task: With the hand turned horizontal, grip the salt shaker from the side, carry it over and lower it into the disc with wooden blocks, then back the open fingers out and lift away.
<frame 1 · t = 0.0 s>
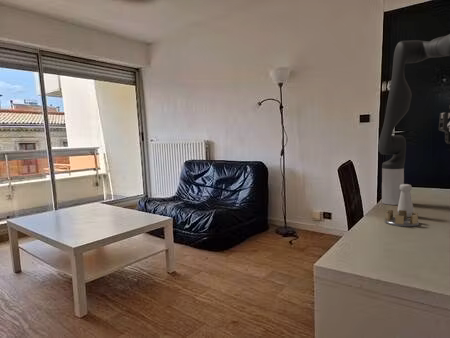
salt shaker: (405, 216, 122), on the table
disc with wooden blocks: (401, 222, 112), on the table
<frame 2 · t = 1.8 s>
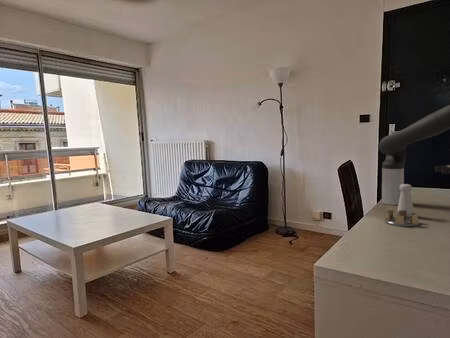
hand: (438, 169, 117), 19 cm above the table, tool horizontal, fingers open, 8 cm apart
nothing on the table moved.
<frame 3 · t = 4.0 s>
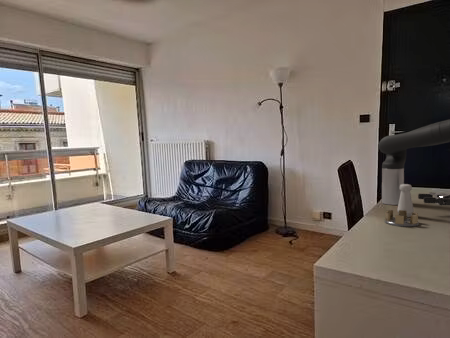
hand: (421, 198, 120), 7 cm above the table, tool horizontal, fingers open, 8 cm apart
nothing on the table moved.
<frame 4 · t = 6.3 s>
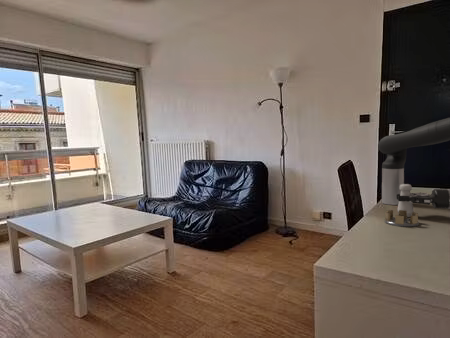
hand: (397, 197, 123), 8 cm above the table, tool horizontal, fingers closed on salt shaker, 3 cm apart
salt shaker: (405, 216, 122), on the table, touching gripper
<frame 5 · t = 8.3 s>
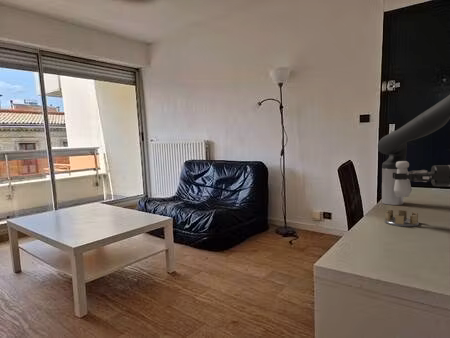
hand: (393, 176, 112), 18 cm above the table, tool horizontal, fingers closed on salt shaker, 3 cm apart
salt shaker: (402, 196, 111), point 10 cm above the table, touching gripper
when the fingers open (10 cm above the table, at t = 10.4 s): salt shaker drops 1 cm, resting on disc with wooden blocks.
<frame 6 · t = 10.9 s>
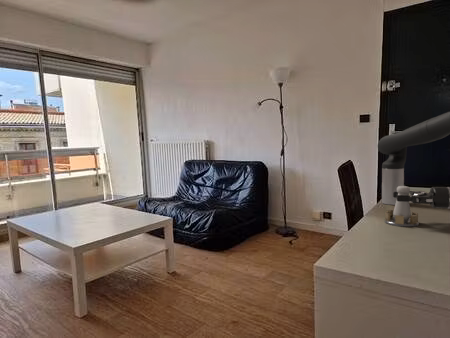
hand: (395, 196, 112), 10 cm above the table, tool horizontal, fingers open, 7 cm apart
salt shaker: (401, 221, 112), point 1 cm above the table, touching disc with wooden blocks
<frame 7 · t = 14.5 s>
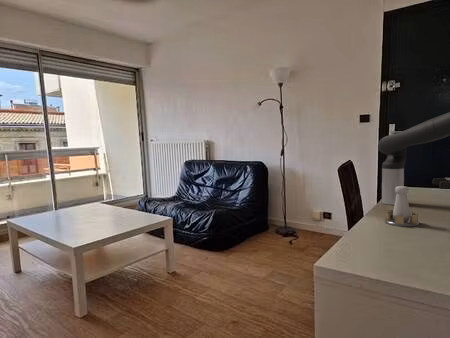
hand: (436, 183, 108), 15 cm above the table, tool horizontal, fingers open, 8 cm apart
nothing on the table moved.
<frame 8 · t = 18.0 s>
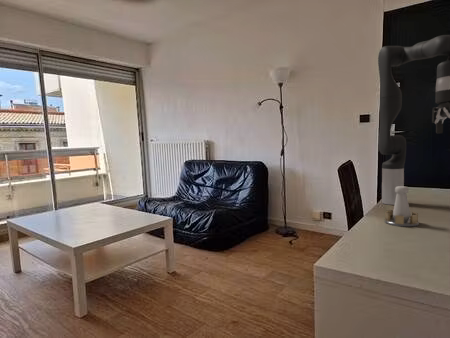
hand: (446, 132, 115), 33 cm above the table, tool pointing down, fingers open, 8 cm apart
nothing on the table moved.
at the end: salt shaker 0.1 cm off-centre on the disc with wooden blocks, point 0.6 cm above the disc with wooden blocks's base; salt shaker tilted 0°; the gripper is holding nothing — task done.
